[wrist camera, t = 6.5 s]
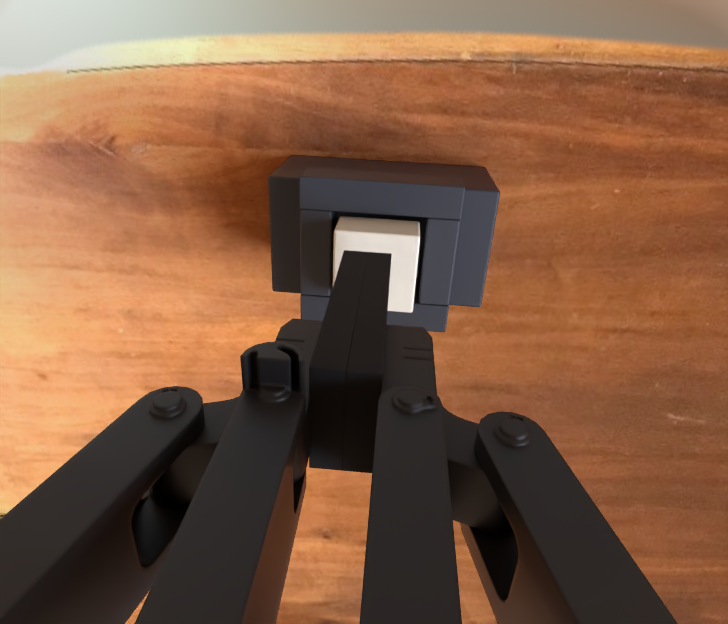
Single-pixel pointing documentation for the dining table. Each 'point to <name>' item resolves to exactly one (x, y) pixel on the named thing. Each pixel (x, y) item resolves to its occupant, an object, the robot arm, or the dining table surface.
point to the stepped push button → (383, 201)
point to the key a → (383, 239)
